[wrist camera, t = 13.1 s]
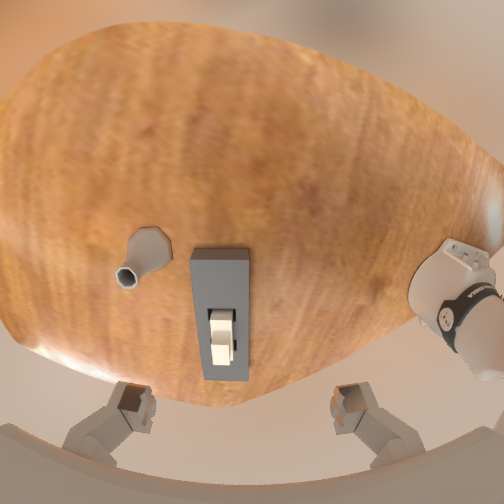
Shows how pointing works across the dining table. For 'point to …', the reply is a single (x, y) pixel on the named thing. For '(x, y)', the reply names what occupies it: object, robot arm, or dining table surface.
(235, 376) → the rail
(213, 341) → the clip
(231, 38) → the dining table surface
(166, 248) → the flask
